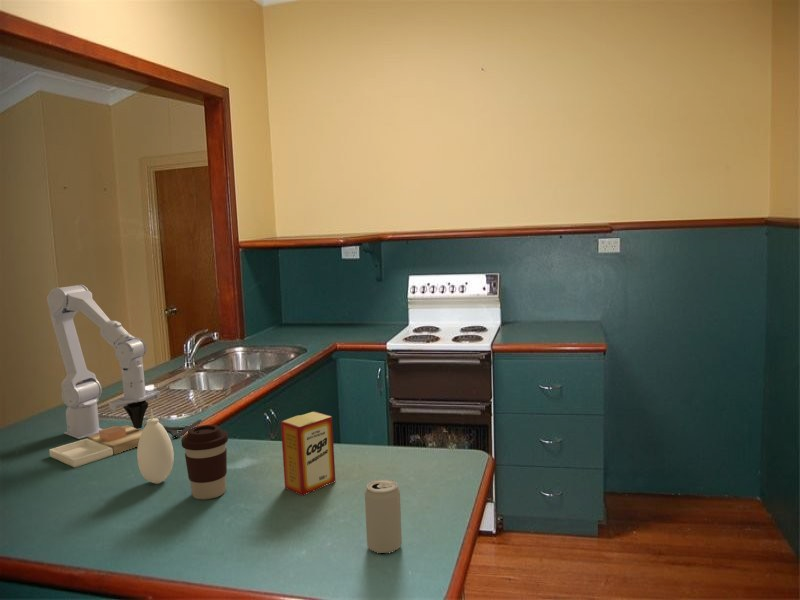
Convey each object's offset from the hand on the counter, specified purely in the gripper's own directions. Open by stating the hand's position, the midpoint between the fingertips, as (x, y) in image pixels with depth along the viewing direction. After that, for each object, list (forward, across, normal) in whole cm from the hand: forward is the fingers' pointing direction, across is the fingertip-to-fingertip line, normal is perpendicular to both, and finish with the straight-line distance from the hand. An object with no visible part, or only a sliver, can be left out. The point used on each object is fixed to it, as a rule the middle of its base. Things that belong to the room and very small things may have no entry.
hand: (137, 427), depth 182 cm
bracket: (+4, +9, 0) cm, 10 cm away
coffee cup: (+3, -12, -50) cm, 51 cm away
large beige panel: (+3, -5, 0) cm, 6 cm away
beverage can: (+3, -8, -98) cm, 98 cm away
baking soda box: (+3, +4, -66) cm, 66 cm away
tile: (+1, -8, 0) cm, 8 cm away
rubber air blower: (+3, -14, -34) cm, 37 cm away
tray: (+3, -16, 0) cm, 17 cm away
